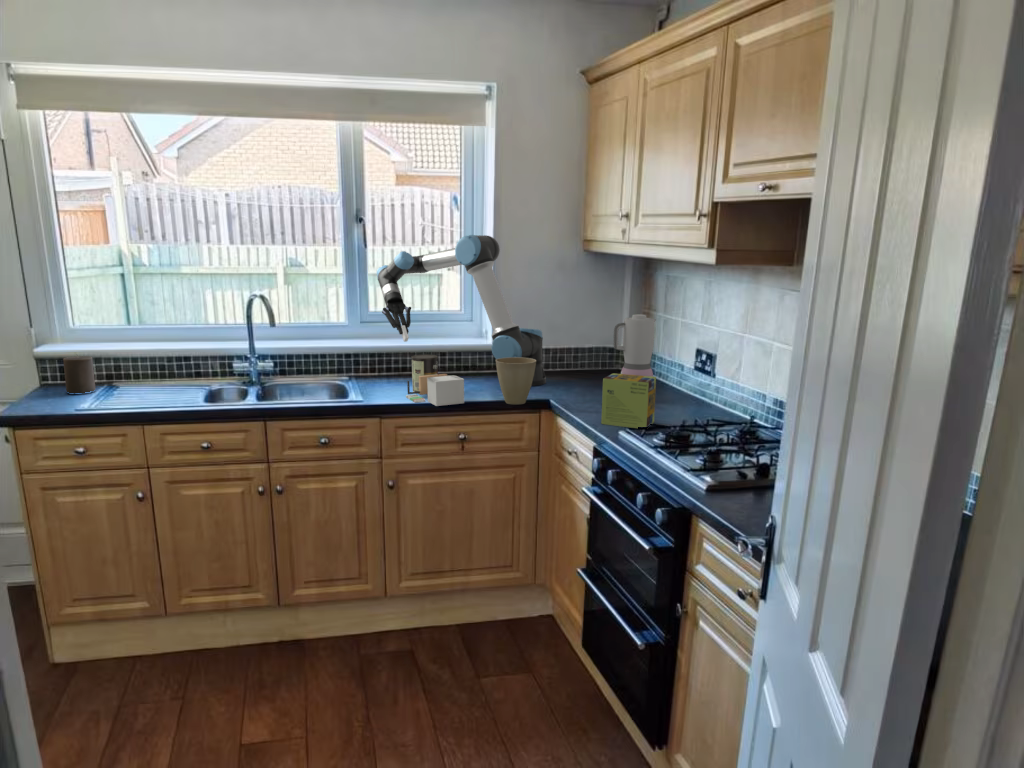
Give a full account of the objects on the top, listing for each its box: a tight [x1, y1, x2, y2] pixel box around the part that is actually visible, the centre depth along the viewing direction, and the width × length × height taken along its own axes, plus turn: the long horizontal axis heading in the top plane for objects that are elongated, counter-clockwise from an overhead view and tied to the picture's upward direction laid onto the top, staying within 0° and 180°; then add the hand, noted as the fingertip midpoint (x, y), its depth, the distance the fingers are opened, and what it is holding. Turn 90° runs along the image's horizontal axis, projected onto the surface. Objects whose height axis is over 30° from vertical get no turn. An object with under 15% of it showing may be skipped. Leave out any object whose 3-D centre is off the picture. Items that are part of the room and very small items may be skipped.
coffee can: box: [411, 353, 439, 395], centre depth 274 cm, size 10×10×14 cm
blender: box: [613, 313, 657, 377], centre depth 260 cm, size 16×12×32 cm
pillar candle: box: [62, 355, 96, 393], centre depth 268 cm, size 10×10×15 cm
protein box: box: [600, 372, 657, 429], centre depth 227 cm, size 10×15×16 cm
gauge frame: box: [405, 374, 465, 407], centre depth 259 cm, size 16×18×9 cm
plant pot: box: [495, 357, 536, 406], centre depth 256 cm, size 15×15×16 cm
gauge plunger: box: [406, 373, 448, 396], centre depth 263 cm, size 16×8×7 cm, turn 118°
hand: (406, 339), depth 290 cm, fingers closed
